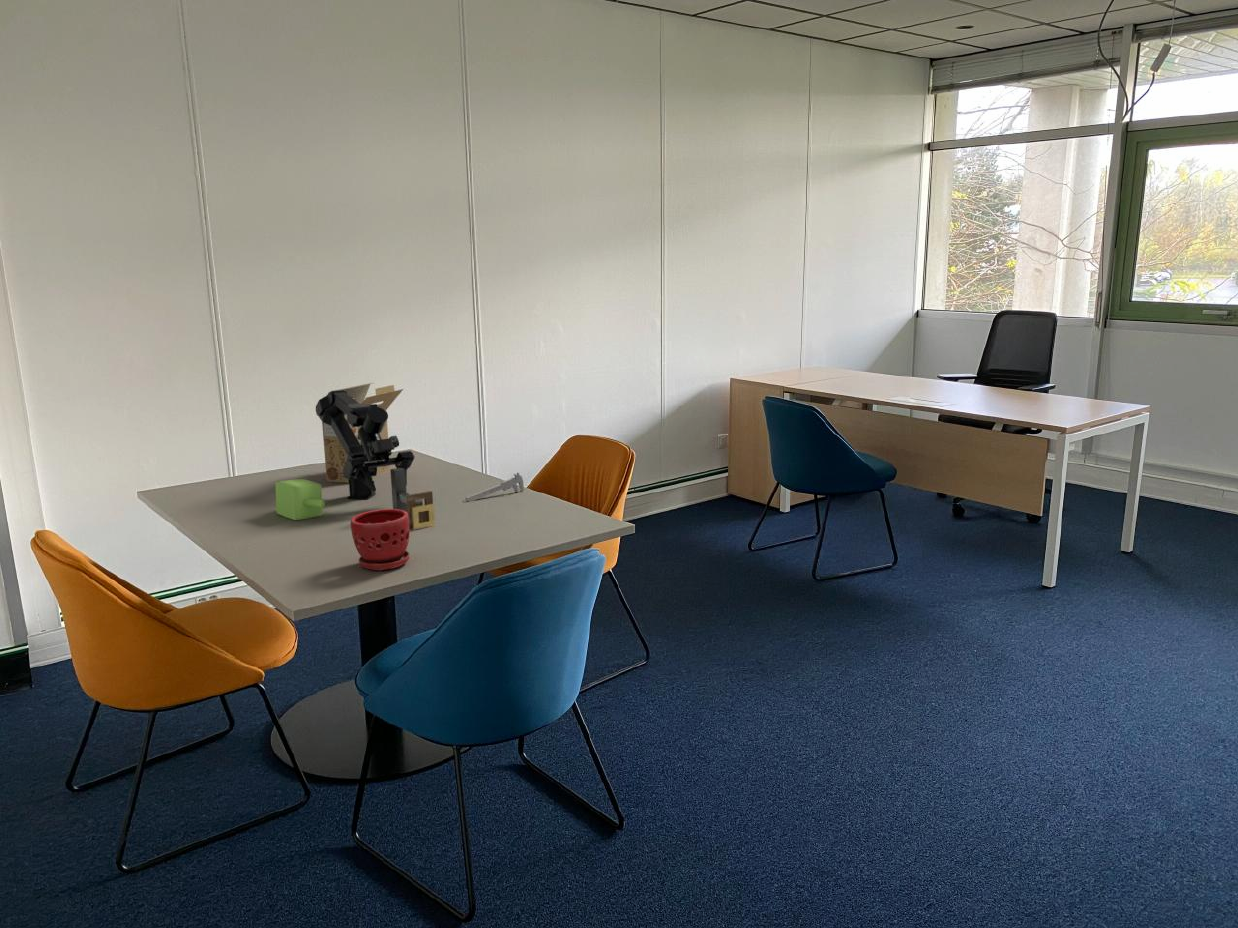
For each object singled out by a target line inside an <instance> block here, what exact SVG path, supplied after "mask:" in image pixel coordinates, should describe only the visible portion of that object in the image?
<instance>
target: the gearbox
mask: <svg viewBox="0 0 1238 928" xmlns="http://www.w3.org/2000/svg"><path fill="white" fill-rule="evenodd" d="M322 490H323V489H322V484H320V483H317V482H315V481H312V480H308V479H305V478H299V479H298V478H297V479H287V480H280V481H276V482H275V510H276V514H278V515H280V516H282V517H285V518H287V519H290V520H294V521H299V520H306V519H312V518H315V517H320V516H322V515H323V508H324V507H325V503H326V502H325V500H324V499H323V494H322V493H323V491H322Z"/></svg>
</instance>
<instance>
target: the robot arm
mask: <svg viewBox="0 0 1238 928" xmlns="http://www.w3.org/2000/svg"><path fill="white" fill-rule="evenodd" d="M377 405H378V404H377V403H374V404H371V405H367V404H360V403H358V402H357V401H355V400H354V398H352V397H350V396H349V395H348V394H347V392H346V391H345V390H339V389H335V391H334V390H330V391H328V393H327V394H326V395H325V396H323V397H322V398H320V399H318V402H317V403H316V405H315V413H316V414H315V415H316V416H318V418H319V420H321V423H322V422H323V423H325V424H328V425H330V426H331V427H332V429H333V430H334V432H335V434H336V436H337V438H338V439H339V441H340V443H341V445H342V446H343V448H344V450H345V452H346V453H347V460H346V464H345V466H344V469H343V474H344V477H345V478H347V479H349V483H348V490H349V495H348V496H347V499H349V500H350V499H358V500H359V499H360V500H367V499H370V498H372V497H373V496H375V495H376V490H377V489H376V486H375V481H374V479H373V477H376V476H378V475H377V467H382V466H389V465H390V466H393V465H394V466H395V468H403V469H405V475H406V486H407V485H408V481H407V480H408V479H407V478H408V473H407V471H408V469H409V468H411V465H412V464H413V462H414V460H415V455H414V452H412V450H405V451H399V452H397V454H396V456H395V457H391V456H392V454H393V452H392V451H394V450H395V448H396V449H397V448H398V447H400V441H399V438H398V436H397V435H391V436H388V439H382V438H381V436H380V432H382V430H383V428H384V426H385V423H386V421H387V422H388V418H389V414H388V412H387V410H386V411H385V410H384V409H382V408H380V407H378V406H377ZM345 414H346V415H347V420H346V419H345ZM347 421H348V422H349V424H350V425H351V426H352V427H359V426H362V427H360V429H359V431H358V436H357V438H358V439H357V438H356V436H355V434H354V432H353V431H352V429H351V427H350V426H349V424H348V422H347ZM358 440H361V443H362V445H361V444H360V443H359V441H358Z"/></svg>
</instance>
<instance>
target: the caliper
mask: <svg viewBox="0 0 1238 928" xmlns="http://www.w3.org/2000/svg"><path fill="white" fill-rule="evenodd" d="M518 486H519V488H518ZM511 488H512V489H513V490H514V491H515V493H519V490H520V492H524V489H525V488H524V480H523V477H522V475H520V473H519V472H516V473H514V474H513V477H511V478H508V479H506V480H503V481H500V483H499V484H497V485H494V486H492V487H490V488H487V489H484V490H481V491H478V492H476V493H474V494H471V495H468V496H466V497H465V499H463V500H462V503H467V502H473V500H474V501H475V500H476V501H477V500H478V499H480V498H483V497H486V496H489V495H491V494H493V493H497V492H500V491H501V490H502V491H503V492H505V491H507V490H510V489H511Z"/></svg>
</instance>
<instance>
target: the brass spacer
mask: <svg viewBox="0 0 1238 928" xmlns="http://www.w3.org/2000/svg"><path fill="white" fill-rule="evenodd" d="M423 511H427V521H421V522H419V515H418V512H423ZM411 518H412V528H411V529H412V530H413V531H414V530H415V531H416V530H419V529H424V528H430V527H435V526H436V523H435V506H434V503H433V504H432V503H430V504H424V503H423V505H419V506H413V507H411Z"/></svg>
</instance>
